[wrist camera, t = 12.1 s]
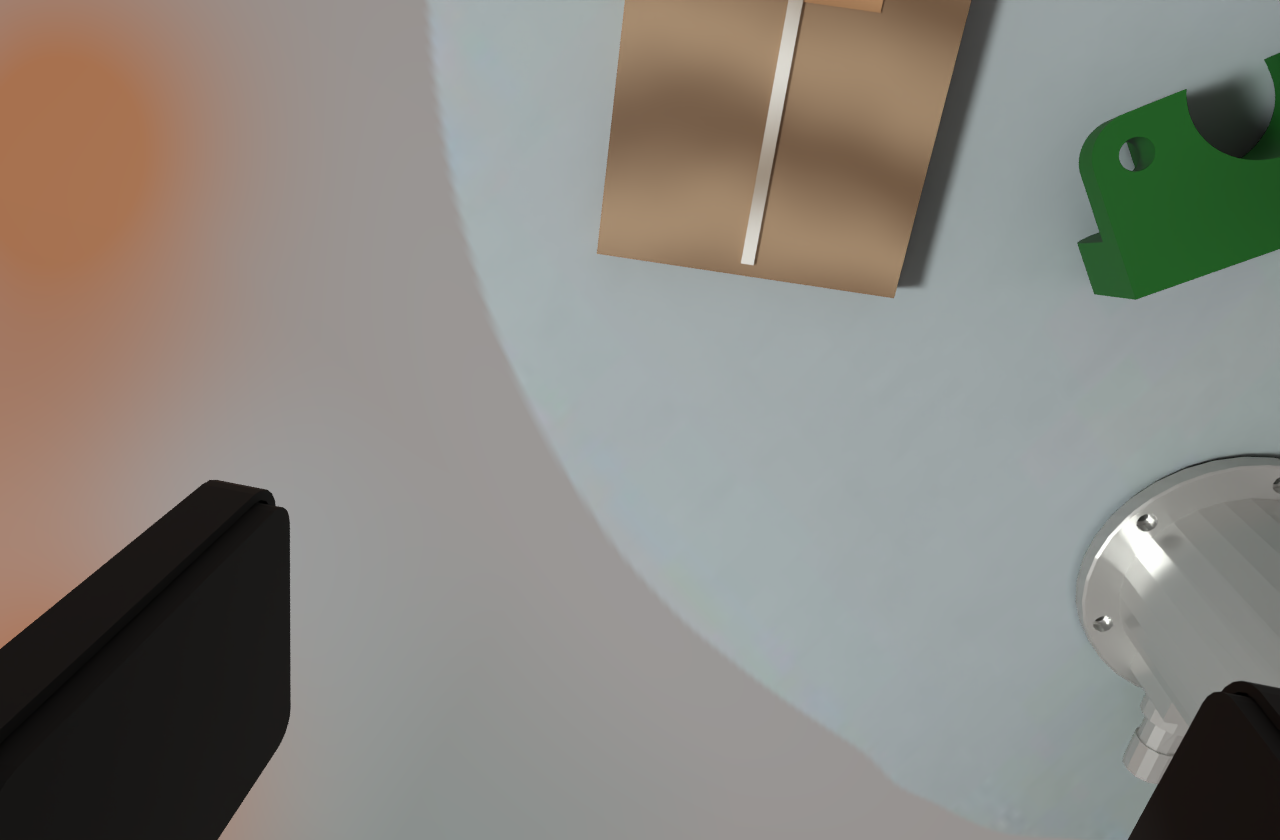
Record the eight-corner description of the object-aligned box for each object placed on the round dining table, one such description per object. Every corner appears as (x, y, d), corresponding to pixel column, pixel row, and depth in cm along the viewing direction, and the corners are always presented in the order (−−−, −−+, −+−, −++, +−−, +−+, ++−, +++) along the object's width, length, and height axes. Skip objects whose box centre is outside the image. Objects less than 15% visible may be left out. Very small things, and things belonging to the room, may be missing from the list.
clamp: (1243, 69, 36) (1501, -38, 27) (1285, 208, 36) (1551, 149, 27) (997, 166, 34) (1187, 86, 25) (1046, 311, 34) (1249, 284, 25)
